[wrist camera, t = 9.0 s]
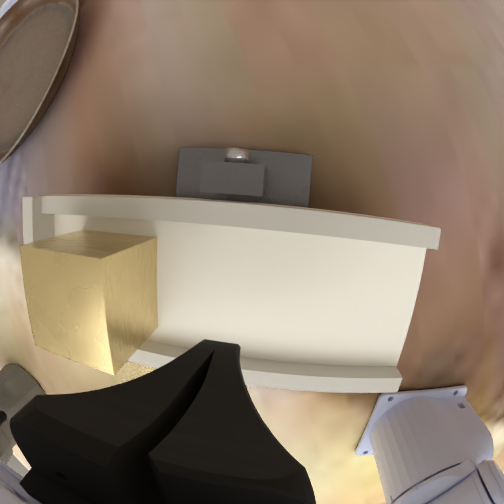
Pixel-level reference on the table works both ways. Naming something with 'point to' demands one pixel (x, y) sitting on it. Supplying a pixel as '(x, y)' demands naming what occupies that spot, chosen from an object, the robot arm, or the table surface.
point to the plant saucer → (32, 63)
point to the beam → (266, 283)
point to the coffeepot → (13, 402)
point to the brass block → (92, 295)
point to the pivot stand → (244, 175)
